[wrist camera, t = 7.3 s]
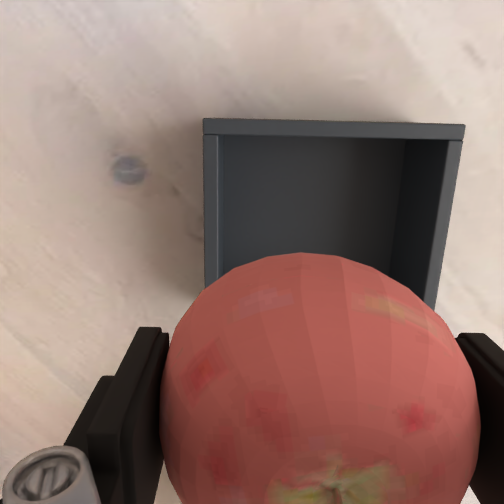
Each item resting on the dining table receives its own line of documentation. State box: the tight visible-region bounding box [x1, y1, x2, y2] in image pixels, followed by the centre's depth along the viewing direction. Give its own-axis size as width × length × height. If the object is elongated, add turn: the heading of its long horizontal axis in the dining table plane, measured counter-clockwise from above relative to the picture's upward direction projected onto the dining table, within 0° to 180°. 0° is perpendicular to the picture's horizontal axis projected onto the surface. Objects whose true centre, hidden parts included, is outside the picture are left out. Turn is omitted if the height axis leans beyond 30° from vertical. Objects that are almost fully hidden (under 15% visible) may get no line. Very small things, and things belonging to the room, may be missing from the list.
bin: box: [203, 118, 465, 311], centre depth 27 cm, size 14×14×7 cm
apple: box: [159, 252, 481, 504], centre depth 11 cm, size 7×7×8 cm
